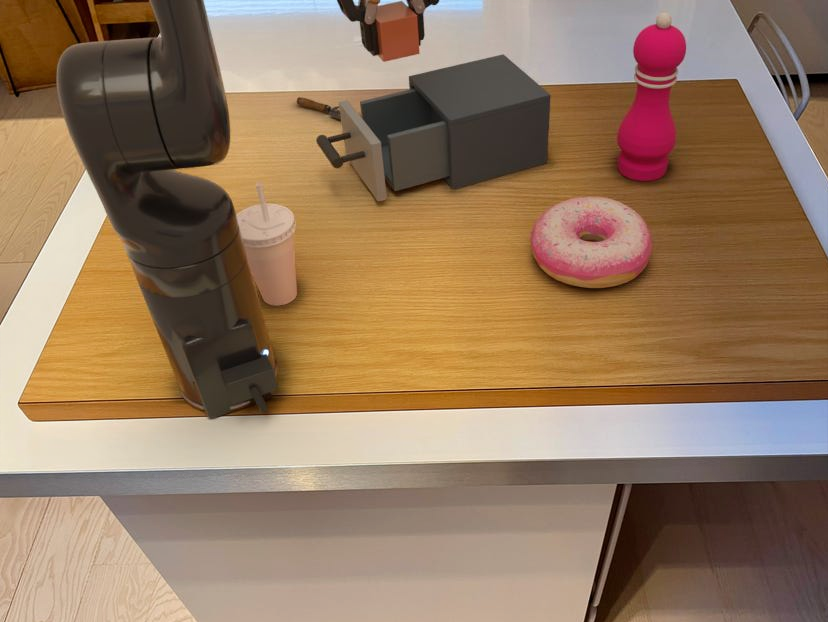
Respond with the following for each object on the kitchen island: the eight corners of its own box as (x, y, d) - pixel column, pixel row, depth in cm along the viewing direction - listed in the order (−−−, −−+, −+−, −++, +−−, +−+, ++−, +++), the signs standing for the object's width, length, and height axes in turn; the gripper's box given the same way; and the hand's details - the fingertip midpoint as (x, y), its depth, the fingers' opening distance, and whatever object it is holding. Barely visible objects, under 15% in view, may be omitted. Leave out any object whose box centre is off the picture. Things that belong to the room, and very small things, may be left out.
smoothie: (297, 317, 86) (272, 206, 76) (240, 309, 87) (208, 198, 77) (317, 279, 91) (296, 169, 81) (263, 272, 92) (235, 162, 82)
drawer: (345, 211, 98) (336, 153, 93) (315, 165, 106) (305, 109, 100) (470, 175, 103) (469, 119, 98) (433, 134, 111) (430, 79, 105)
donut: (551, 308, 87) (554, 271, 83) (514, 235, 96) (515, 199, 92) (668, 285, 89) (676, 248, 86) (621, 216, 98) (626, 180, 95)
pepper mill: (668, 155, 108) (695, 0, 94) (672, 185, 103) (700, 27, 89) (613, 152, 109) (631, -1, 94) (614, 182, 104) (633, 25, 89)
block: (419, 53, 93) (417, 15, 90) (383, 62, 92) (379, 23, 88) (404, 38, 96) (401, 0, 93) (369, 46, 94) (365, 8, 91)
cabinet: (452, 190, 103) (449, 120, 96) (413, 143, 111) (408, 75, 104) (547, 163, 107) (550, 94, 100) (502, 120, 115) (503, 53, 108)
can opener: (296, 105, 118) (295, 98, 117) (307, 99, 120) (306, 91, 119) (344, 123, 115) (343, 115, 114) (355, 116, 116) (354, 108, 115)
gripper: (323, -98, 77) (346, 75, 89) (461, -120, 81) (465, 48, 93) (299, -119, 82) (324, 48, 94) (430, -139, 86) (438, 23, 98)
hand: (394, 47), depth 93 cm, fingers closed on block, 4 cm apart
